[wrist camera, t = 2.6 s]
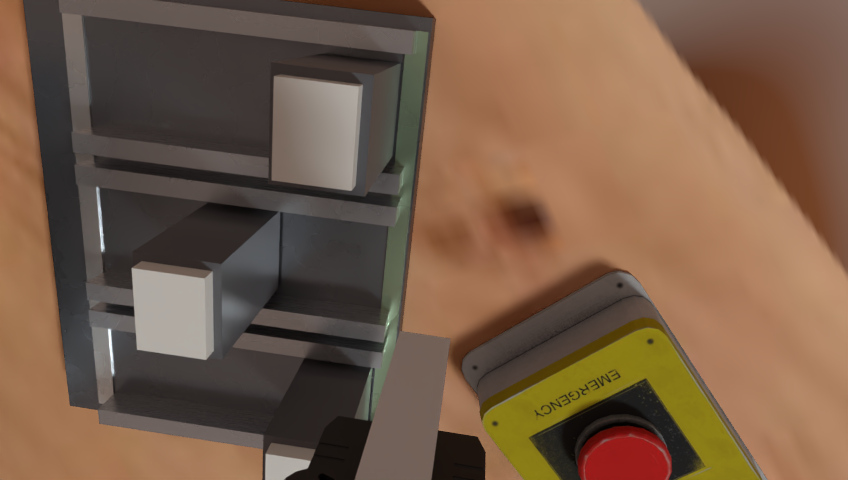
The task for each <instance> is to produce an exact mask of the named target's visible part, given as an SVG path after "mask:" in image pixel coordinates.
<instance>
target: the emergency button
mask: <svg viewBox="0 0 848 480" xmlns="http://www.w3.org/2000/svg"><path fill="white" fill-rule="evenodd" d="M462 372H463V374H464V376H465V379H466V380H467V382H468V383H469V384H470V385H471V387H472V388H473V389H474V391H475V392H476V393H477V395H478V398H479V405H480V416H481V420H482V423H483V426H484V429H485V431H486V432H487V433H488V434H489V436H490V437H491V438H492V440H493V441H494V442H495V443H496V445H497V446H498V447H499V449H500V450H501V451H502V452H503V454H504V455H505V456H506V457H507V459H508V460H509V461H510V463H511V464H512V465H513V466H514V468H515V469H516V470H517V472H518V473H519V474H520V475H521V477H522V478H523V479H524V480H767V478H766V476H765V475H764V473H763V472H762V470H761V469H760V467H759V466H758V464H757V463H756V461H755V460H754V458H753V456H752V455H751V453H750V452H749V450H748V449H747V447H746V446H745V444H744V443H743V441H742V439H741V438H740V436H739V435H738V433H737V432H736V430H735V429H734V427H733V426H732V424H731V423H730V421H729V419H728V418H727V416H726V415H725V413H724V412H723V410H722V409H721V407H720V406H719V404H718V402H717V401H716V399H715V398H714V396H713V395H712V393H711V392H710V390H709V389H708V387H707V386H706V384H705V382H704V381H703V379H702V378H701V376H700V375H699V373H698V372H697V370H696V369H695V367H694V365H693V364H692V362H691V361H690V359H689V358H688V356H687V355H686V353H685V352H684V350H683V349H682V347H681V345H680V344H679V342H678V341H677V339H676V338H675V336H674V335H673V333H672V332H671V330H670V328H669V327H668V325H667V324H666V322H665V321H664V319H663V318H662V316H661V315H660V313H659V312H658V310H657V308H656V307H655V305H654V304H653V302H652V301H651V299H650V298H649V296H648V295H647V293H646V291H645V290H644V288H643V287H642V285H641V284H640V282H639V281H638V280H637V279H636V278H635V277H634V276H632V275H631V274H630V273H627V272H623V271H619V270H618V271H614V272H610V273H607V274H605V275H603V276H602V277H600V278H598V279H596V280H595V281H593V282H591V283H589V284H587V285H586V286H584V287H582V288H580V289H579V290H577V291H575V292H573V293H572V294H570V295H568V296H566V297H565V298H563V299H561V300H559V301H558V302H556V303H554V304H552V305H551V306H549V307H547V308H545V309H544V310H542V311H540V312H538V313H536V314H535V315H533V316H531V317H529V318H528V319H526V320H524V321H522V322H521V323H519V324H517V325H515V326H514V327H512V328H510V329H508V330H507V331H505V332H503V333H501V334H500V335H498V336H496V337H494V338H493V339H491V340H489V341H487V342H485V343H484V344H482V345H480V346H478V347H477V348H475V349H473V350H471V351H470V352H469V353H468V354H467V355H466V356H465V357H464V358H463V362H462Z"/></svg>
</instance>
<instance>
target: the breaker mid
mask: <svg viewBox="0 0 848 480" xmlns="http://www.w3.org/2000/svg"><path fill="white" fill-rule="evenodd" d="M279 240H280V212H279V211H272V210H264V209H257V208H249V207H242V206H235V205H227V204H220V203H212V202H208V203H207V204H205V205H204V206H202V207H201V208H199V209H198V210H196V211H194V212H193V213H191V214H190V215H188V216H187V217H185V218H184V219H182V220H180V221H179V222H177V223H176V224H174V225H173V226H171V227H170V228H168V229H166V230H165V231H163V232H162V233H160V234H159V235H157V236H156V237H154V238H152V239H151V240H149V241H148V242H146V243H145V244H143V245H142V246H140V247H138V248H137V249H135V250H134V251H132V254H133V267H132V282H133V297H134V312H135V327H136V342H137V350H143V351H149V352H156V353H163V354H170V355H176V356H183V357H190V358H197V359H203V360H207V358H208V357H209V358H215V359H223V358H224V357H225V355H226V354H227V353H228V352H229V350H230V349H231V348H232V347H233V345H234V344H235V343H236V341H237V340H238V339H239V338H240V336H241V335H242V334H243V332H244V331H245V330H246V329H247V327H248V326H249V325H250V323H251V322H252V321H253V320H254V318H255V317H256V316H257V314H258V313H259V312H260V311H261V309H262V308H263V307H264V306H265V304H266V303H267V302H268V300H269V299H270V298H271V297H272V295H273V294H274V293H275V291H276V290H277V289H278V276H279Z"/></svg>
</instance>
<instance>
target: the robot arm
mask: <svg viewBox="0 0 848 480" xmlns="http://www.w3.org/2000/svg"><path fill="white" fill-rule="evenodd" d="M449 346H450V338H443V337H437V336H430V335H424V334H417V333H410V332H404V331H400V333H399V336H398V339H397V343H396V346H395V349H394V352H393V356H392V359H391V362H390V366H389V369H388V372H387V375H386V379H385V382H384V385H383V388H382V392H381V395H380V398H379V402H378V405H377V408H376V411H375V415H374V418H373V421H368V420H362V419H355V418H349V417H343V416H337V417H336V418H335V419H334V420H333V421H332V422H331V423H329V424H328V425H327V426H326V427H325V428H324V431H323V433H322V436H321V438H320V440H319V444H318V445H317V447H316V450H315V452H314V456H313V457H312V459H311V462H310V464H309V467H308V468H307V469H303V470H300V471H296V472H294V473H293V474H291V475H289V476H288V477H286V478H285V480H485V453H486V452H485V450H484V448H483V447H482V445H481V443H480V441H479V439H478V437H475V436H469V435H463V434H457V433H450V432H444V431H438V427H439V419H440V412H441V405H442V397H443V390H444V383H445V375H446V368H447V360H448V353H449Z"/></svg>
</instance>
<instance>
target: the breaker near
mask: <svg viewBox="0 0 848 480" xmlns="http://www.w3.org/2000/svg"><path fill="white" fill-rule="evenodd" d="M400 70H401V63H399V62H390V61H382V60H374V59H366V58H357V57H349V56H341V55H333V54H324V53H322V54H317V55H311V56H305V57H299V58H293V59H287V60H282V61H276V62H271V69H270V120H269V172H268V184H273V185H281V186H288V187H296V188H303V189H311V190H319V191H326V192H334V193H341V194H349V195H356V196H364V197H365V195H366V194H367V192H368V191H369V189H370V188H371V187H372V185H373V184H374V182H375V181H376V179H377V178H378V176H379V175H380V174H381V172H382V171H383V169H384V168H385V166H386V165H387V163H388V162H389V161H390V159H391V158H392V156H393V145H394V135H395V124H396V113H397V102H398V92H399V81H400Z"/></svg>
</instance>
